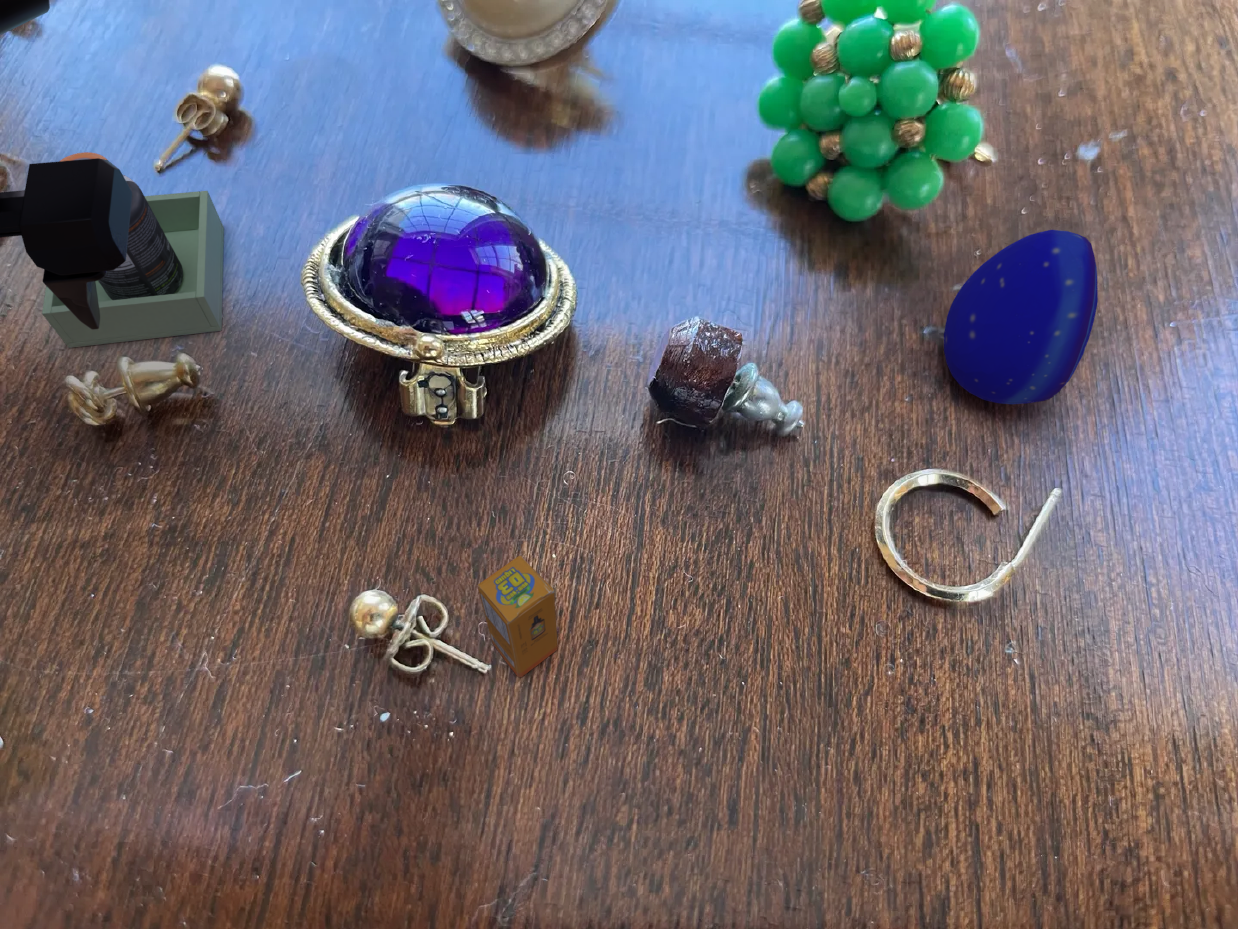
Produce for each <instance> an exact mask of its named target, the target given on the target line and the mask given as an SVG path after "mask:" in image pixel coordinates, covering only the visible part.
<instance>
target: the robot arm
mask: <svg viewBox="0 0 1238 929" xmlns="http://www.w3.org/2000/svg"><path fill="white" fill-rule="evenodd" d="M50 8H51V7H50V0H0V36H2V35H4V34H6V33H8V32H10V31H12V30H14V29H16V28H18V27H20V26H22V25H25V24H26V23H28V22H31V21H33V20H35V19H37V18H38V17H40V16H42V15H45V14H47V13H49V11H50ZM123 175H124V174H123V172H122V171H121V170H120V168H118V167H117V166H116V165H115V164H113V163H112V162H111V161H110V160H109V159H107V160H105V159H100V158H95V159H83V160H71V161H60V160H58V161H47V162H35V163H29V164H28V170H27V175H26V182H25V188H24V190H13V191H0V239H1V238H10V237H20V236H21V238H22V242H23V247H24V250H25V253H26V254H27V255H28V257H29V259H31V261H32V263H33V264H34V265H35V266H36V267H37V268H38V269H42V270H43V275H42V283H43V285H45V287H46V286H47V287H48V288H49V289H50V290H51V291H52V292H53V293H54V294H55V296H56V297H57V298H58V299H59V300H60V301H61V302H62V303H63V304H64V305H65V306H66V307H67V308H68V309H69V310H70V311H71V312H72V313H73V314H74V315H75V316H76V317H77V318H78V320H79V321H81V322H82V323H83V324H85V325H86V326H87V327H89V328H90V329H92V330H94V329H99V325H100V310H99V303H98V296H97V289H96V282H95V281H98V280H101V279H102V278H103V277H104V276H105V275H106V273H107V271H111V270H115V269H116V268H117V267H119V266H120V265H121V264H123V263H124V262H125V261H126V255H127V244H128V233H129V222H130V212H131V201H132V191H131V189H130V188H129V186H128V184H127V182H126V180H125V178H124V176H123Z"/></svg>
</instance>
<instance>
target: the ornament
mask: <svg viewBox="0 0 1238 929" xmlns="http://www.w3.org/2000/svg"><path fill="white" fill-rule="evenodd" d="M1095 256H1096V255H1095V253H1094V248H1093V245H1092V243H1091V242H1090V241H1089V239H1088V238H1087V237H1084V236H1083V235H1081V234H1078V233H1075V232H1072V231H1069V230H1060V229H1048V230H1044V231H1040V232H1039V231H1038V232H1035V233H1032V234H1028V235H1027V236H1024V237H1022V238H1020V239H1017V240H1016V241H1014V242H1013V243H1011V244H1008V245H1006V246H1005V247H1004V248H1002V249H1001V250H999V251H998V252H996V253H995V254H994V255H993V256H992V257H990V258H988V259H987V260H986V261H984V262H983V263H982V264H981V265H979V267H978V268H977V269H976V270H975V271H973V272H972V273H971V275H970V276H969V277H968V279H967V280H966V281H965V282H964V283H963V284H962V285H961V287H960V289H959V291H958V292H957V293H956V295H955V297H954V299H953V301H952V302H951V304H950V307H949V309H948V313H947V316H946V320H945V325H944V331H943V353H944V358H945V362H946V366H947V368H948V370H949V372H950V374H951V376H952V377H953V378H954V380H955V381H956V383H957V384H958V385H959V386H960V387H961V388H963V389H964V390H965V391H966V392H968V393H969V394H971V395H973V396H975V397H977V398H979V399H981V400H984V401H987V402H990V403H996V404H1003V405H1022V404H1026V405H1027V404H1033V403H1041V402H1046V401H1048V400H1050V399H1051V398H1053V397H1054V396H1056V395H1057V394H1058V393H1059V392H1061V391H1062V389H1063V388H1064V387H1065V386H1066V384H1068V382H1070V380H1071V378H1072V377H1073V375H1074V374H1075V372H1076V370H1077V368H1078V366H1079V364H1080V362H1081V360H1082V358H1083V356H1084V354H1085V351H1086V348H1087V344H1088V342H1089V340H1090V337H1091V333H1092V329H1093V326H1094V323H1095V318H1096V313H1097V308H1098V303H1099V296H1098V293H1099V292H1098V291H1099V290H1098V269H1097V262H1096V257H1095Z"/></svg>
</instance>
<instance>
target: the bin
mask: <svg viewBox="0 0 1238 929" xmlns="http://www.w3.org/2000/svg"><path fill="white" fill-rule="evenodd" d="M144 196H145V198H146V200H147V202H148V204H149V206H150V207H151V209H152V211H153V213H154V215H155V217H156V219H157V221H158V222H159V224H160V226H161V228H162V229H163V232H164V234H165V236H166V237H167V239H168V241H169V243H170V244H171V246H172V248H173V250H174V252H175V254H176V256H177V257H178V259H179V261H180V263H181V265H182V268H183V278H182V283H181V285H180V286H179V288H178V289H177V290H176V292H175V293H174V294H168V295H158V296H149V297H140V298H130V299H121V300H112V299H111V298H110V297H109V296H108V295H107V293H106V292H105V290H104V289H103V287H102V286H101V284H100V283H99V281H95V282H96V289H97V296H98V303H99V310H100V325H99V329H94V330H92V329H90V328H89V327H87V326H86V325H85V324H83V323H82V322H81V321H79V320H78V318H77V317H76V316H75V315H74V314H73V313H72V312H71V311H70V310H69V309H68V308H67V307H66V306H65V305H64V304H63V303H62V302H61V301H60V300H59V299H58V298H57V297H56V296H55V294H54V293H53V292H52V291H51V290H50V289H49V288H48V287H47V286H46V285H45V291H44V298H43V304H42V311H41V315H42V316H43V317H44V319H46V321H47V322H48V324H49V325H50V326H51V327H52V329H53V330H54V331H55V333H56V334H57V336H59V338H60V339H61V340H62V341H63V342H64V344H65V345H66V346H67V348H69V349H71V348H80V347H81V348H82V347H88V346H99V345H107V344H116V343H127V342H133V341H142V340H152V339H160V338H161V339H162V338H170V337H179V336H187V335H197V334H206V333H215V332H222V330H223V292H224V291H223V286H224V243H225V241H224V236H225V227H224V225H223V222H222V220H221V218H220V215H219V213H218V210H217V209H216V206H215V205H214V204H215V203H214V201H213V200H212V197H211V195H210V193H209V191H208V190H201V191H197V190H196V191H189V192H188V191H186V192H177V193H166V194H153V195H144Z"/></svg>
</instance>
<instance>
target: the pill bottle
mask: <svg viewBox="0 0 1238 929" xmlns="http://www.w3.org/2000/svg"><path fill="white" fill-rule="evenodd" d="M95 158H100V159H105V160H108V158H106V157H105V156H104V155H102V154H99V153H97V152H91V151H90V152H89V151H84V152H76V153H72V154H70V155H67V156H65V157H63V158H62V159H60V160H59V161H71V160H83V159H95ZM122 175H123V176H124V178H125V180H126V182H127V184H128V186H129V188H130V189H131V191H132V201H131V212H130V222H129V233H128V244H127V255H126V261H125V262H124V263H123V264H121V265H120V266H119V267H117V268H116V269H115V270H111V271H107V273H106V275H105V276H104V277H103V278H102V279H101V280H98V281H99V283H100V284H101V286H102V287H103V289H104V290H105V292H106V293H107V295H108V296H109V297H110V298H111V299H112V300H121V299H130V298H140V297H149V296H158V295H168V294H174V293H175V292H176V290H177V289H178V288H179V286H180V285H181V283H182V278H183V268H182V265H181V263H180V261H179V259H178V257H177V256H176V254H175V252H174V250H173V248H172V246H171V244H170V243H169V241H168V239H167V237H166V236H165V234H164V232H163V229H162V228H161V226H160V224H159V222H158V221H157V219H156V217H155V215H154V213H153V211H152V209H151V207H150V206H149V204H148V202H147V200H146V198H145V196H146V195H144V193H143V191H142V189H141V187H140V186H139V185H138V184H137V183H136V181H134V180H133V179H131V178H130V177H129V176H127V175H125V174H122Z"/></svg>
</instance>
